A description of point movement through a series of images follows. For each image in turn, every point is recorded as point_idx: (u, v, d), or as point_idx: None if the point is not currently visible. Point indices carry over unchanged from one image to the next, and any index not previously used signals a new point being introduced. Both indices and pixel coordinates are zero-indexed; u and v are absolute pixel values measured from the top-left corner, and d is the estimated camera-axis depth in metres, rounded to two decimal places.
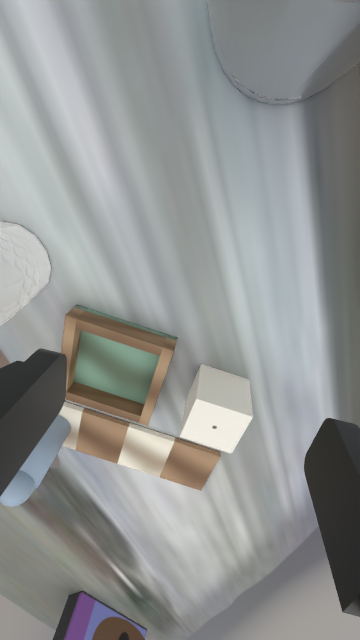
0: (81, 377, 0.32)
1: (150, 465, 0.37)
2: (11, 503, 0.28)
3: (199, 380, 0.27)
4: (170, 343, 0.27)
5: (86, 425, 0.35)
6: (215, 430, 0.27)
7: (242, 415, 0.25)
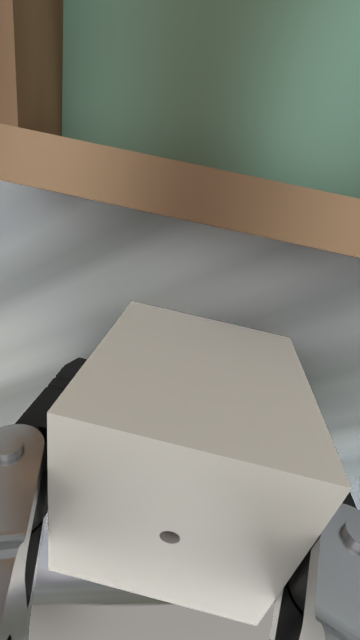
0: None
1: None
2: None
3: (309, 392, 0.07)
4: None
5: None
6: (150, 539, 0.06)
7: (257, 606, 0.07)
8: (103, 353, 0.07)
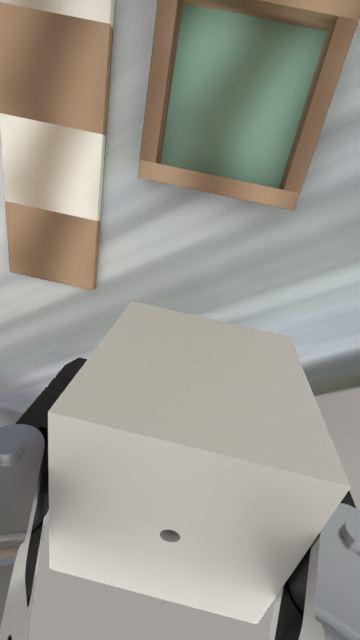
0: (196, 23, 0.17)
1: (25, 182, 0.21)
2: None
3: (308, 391, 0.07)
4: None
5: (76, 34, 0.18)
6: (150, 537, 0.06)
7: (256, 604, 0.07)
8: (103, 353, 0.07)
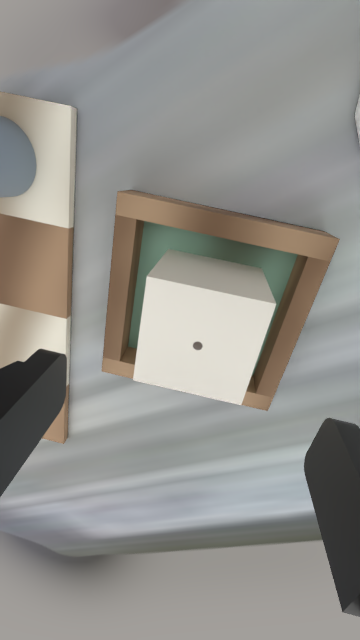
0: (159, 233, 0.16)
1: None
2: None
3: None
4: None
5: (34, 234, 0.17)
6: (187, 348, 0.13)
7: (240, 389, 0.13)
8: (162, 264, 0.13)
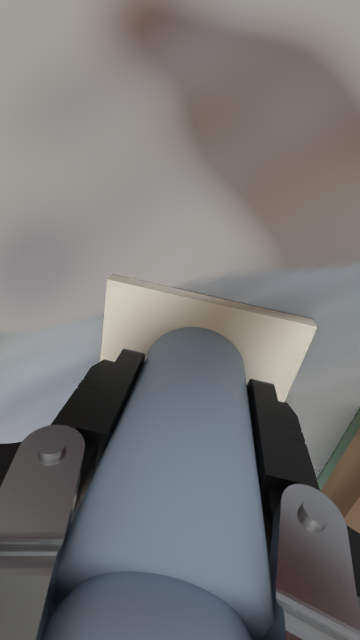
0: None
1: None
2: None
3: None
4: None
5: None
6: None
7: None
8: None
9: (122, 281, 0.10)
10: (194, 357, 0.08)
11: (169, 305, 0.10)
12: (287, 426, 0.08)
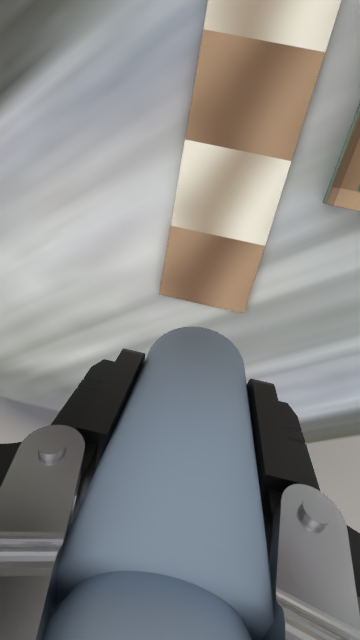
0: None
1: (197, 207, 0.21)
2: None
3: None
4: None
5: (286, 62, 0.17)
6: None
7: None
8: None
9: None
10: (194, 357, 0.08)
11: None
12: (287, 426, 0.08)
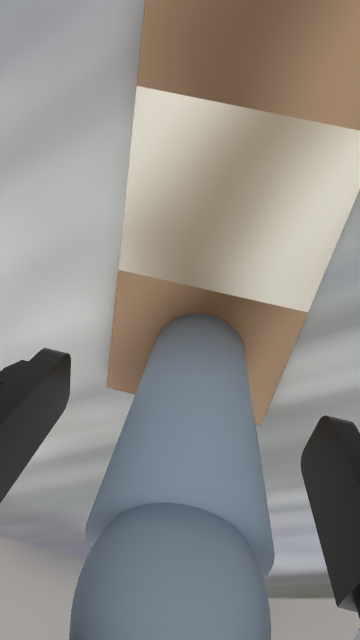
0: None
1: (169, 236, 0.10)
2: None
3: None
4: None
5: None
6: None
7: None
8: None
9: None
10: (200, 340, 0.09)
11: None
12: None
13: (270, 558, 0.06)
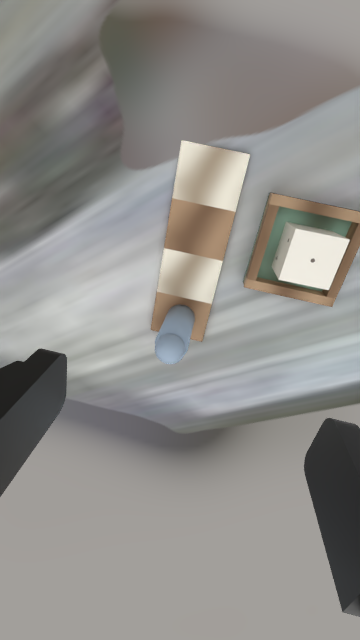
0: (282, 213, 0.32)
1: (171, 282, 0.37)
2: (166, 360, 0.30)
3: (340, 235, 0.30)
4: None
5: (216, 215, 0.33)
6: (308, 262, 0.29)
7: (329, 281, 0.29)
8: (293, 226, 0.29)
9: (186, 141, 0.30)
10: (179, 311, 0.36)
11: (202, 149, 0.30)
12: None
13: (187, 345, 0.32)
